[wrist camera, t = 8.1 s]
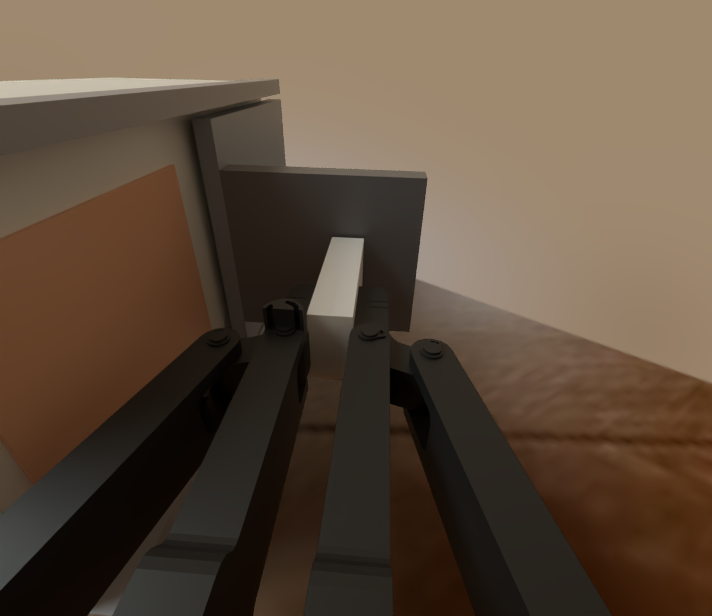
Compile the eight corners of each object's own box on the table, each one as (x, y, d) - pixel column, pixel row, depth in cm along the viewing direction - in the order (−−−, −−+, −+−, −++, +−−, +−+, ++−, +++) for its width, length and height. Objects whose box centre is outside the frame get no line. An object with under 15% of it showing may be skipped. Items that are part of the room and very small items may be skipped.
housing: (293, 274, 32) (278, 79, 24) (127, 626, 12) (-263, 130, 4) (164, 267, 33) (111, 75, 25) (-203, 589, 12) (-1067, 101, 5)
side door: (400, 268, 31) (416, 103, 25) (405, 360, 21) (433, 126, 15) (283, 262, 32) (268, 99, 25) (235, 349, 22) (191, 118, 15)
